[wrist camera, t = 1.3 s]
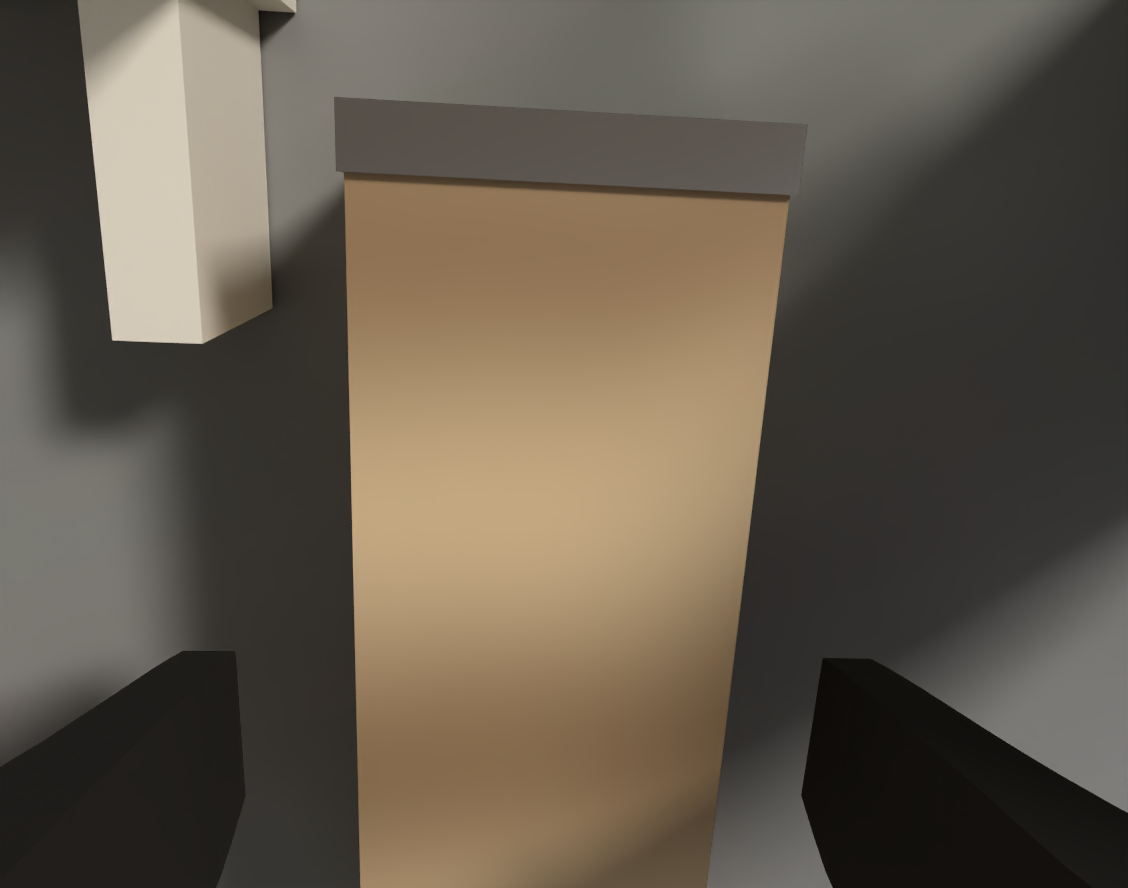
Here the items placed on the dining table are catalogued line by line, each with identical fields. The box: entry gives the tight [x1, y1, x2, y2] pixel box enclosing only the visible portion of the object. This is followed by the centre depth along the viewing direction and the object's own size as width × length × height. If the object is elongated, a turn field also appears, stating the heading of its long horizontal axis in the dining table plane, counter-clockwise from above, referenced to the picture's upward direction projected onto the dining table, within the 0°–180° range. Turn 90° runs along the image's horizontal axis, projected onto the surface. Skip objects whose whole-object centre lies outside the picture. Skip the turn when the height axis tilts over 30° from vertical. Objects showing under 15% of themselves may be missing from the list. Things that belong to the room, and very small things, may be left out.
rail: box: [334, 97, 807, 888], centre depth 12 cm, size 14×4×5 cm, turn 177°
